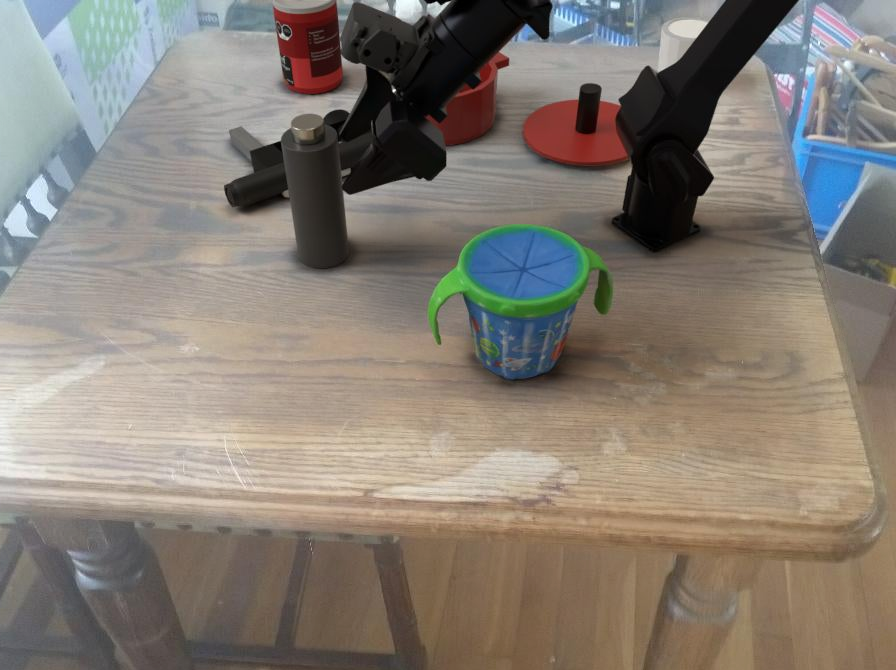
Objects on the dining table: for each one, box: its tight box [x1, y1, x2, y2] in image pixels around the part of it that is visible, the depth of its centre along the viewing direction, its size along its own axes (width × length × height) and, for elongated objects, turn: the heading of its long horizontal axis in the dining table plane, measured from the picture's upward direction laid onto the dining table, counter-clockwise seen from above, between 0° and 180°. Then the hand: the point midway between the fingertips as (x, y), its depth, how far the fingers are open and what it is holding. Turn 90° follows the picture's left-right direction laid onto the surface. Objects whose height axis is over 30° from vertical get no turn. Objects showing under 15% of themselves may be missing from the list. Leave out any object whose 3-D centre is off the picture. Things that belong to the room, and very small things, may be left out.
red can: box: [272, 0, 344, 95], centre depth 110 cm, size 8×8×11 cm
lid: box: [522, 82, 630, 167], centre depth 99 cm, size 14×14×6 cm
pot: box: [424, 51, 510, 147], centre depth 104 cm, size 13×19×6 cm
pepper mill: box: [280, 113, 350, 269], centre depth 83 cm, size 5×5×14 cm
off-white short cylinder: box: [657, 16, 710, 73], centre depth 106 cm, size 7×7×7 cm
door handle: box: [223, 109, 372, 208], centre depth 100 cm, size 3×20×16 cm
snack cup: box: [427, 223, 614, 381], centre depth 73 cm, size 16×10×10 cm
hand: (344, 164), depth 81 cm, fingers open, 9 cm apart
